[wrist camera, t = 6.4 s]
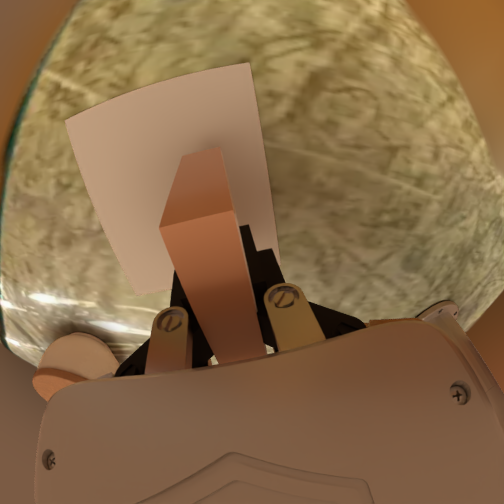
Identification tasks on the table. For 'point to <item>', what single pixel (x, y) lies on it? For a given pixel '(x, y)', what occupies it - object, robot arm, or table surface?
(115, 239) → the mat
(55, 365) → the lidded jar
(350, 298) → the table surface
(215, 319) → the block
